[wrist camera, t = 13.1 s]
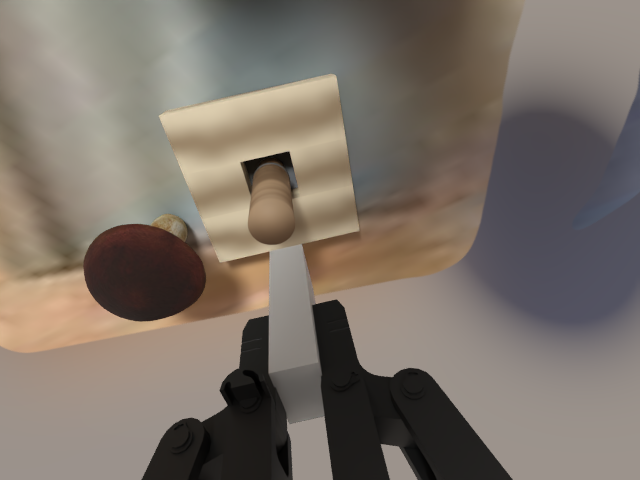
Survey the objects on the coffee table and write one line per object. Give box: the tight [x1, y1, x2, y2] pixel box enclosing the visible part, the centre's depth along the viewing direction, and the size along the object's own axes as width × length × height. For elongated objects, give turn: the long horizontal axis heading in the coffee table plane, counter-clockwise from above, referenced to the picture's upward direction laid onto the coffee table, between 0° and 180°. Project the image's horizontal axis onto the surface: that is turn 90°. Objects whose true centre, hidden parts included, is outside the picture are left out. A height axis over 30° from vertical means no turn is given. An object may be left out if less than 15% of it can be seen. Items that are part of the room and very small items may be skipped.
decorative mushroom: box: [84, 214, 206, 321], centre depth 37 cm, size 11×11×15 cm
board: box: [159, 74, 360, 263], centre depth 40 cm, size 18×18×3 cm
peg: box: [248, 158, 295, 245], centre depth 35 cm, size 4×4×14 cm
